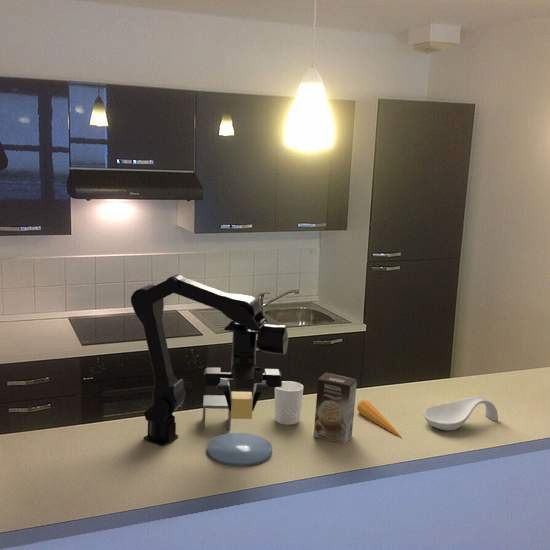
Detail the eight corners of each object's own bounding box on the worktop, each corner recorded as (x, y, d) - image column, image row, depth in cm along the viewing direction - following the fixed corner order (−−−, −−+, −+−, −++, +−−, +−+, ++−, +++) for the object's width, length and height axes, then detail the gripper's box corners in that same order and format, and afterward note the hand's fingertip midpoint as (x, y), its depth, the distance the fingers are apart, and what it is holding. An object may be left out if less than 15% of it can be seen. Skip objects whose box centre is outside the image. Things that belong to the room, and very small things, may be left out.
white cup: (298, 427, 183) (300, 392, 182) (270, 423, 185) (272, 389, 183) (303, 416, 191) (305, 382, 189) (276, 413, 192) (277, 379, 191)
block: (230, 410, 168) (231, 391, 167) (250, 410, 168) (251, 391, 167) (231, 418, 163) (231, 398, 162) (251, 418, 163) (252, 399, 162)
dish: (194, 454, 165) (194, 449, 164) (230, 432, 178) (231, 427, 178) (249, 472, 157) (249, 467, 157) (283, 448, 170) (284, 443, 170)
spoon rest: (441, 438, 182) (443, 413, 180) (413, 421, 192) (416, 397, 191) (506, 426, 192) (509, 402, 191) (477, 411, 203) (480, 388, 201)
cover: (202, 418, 186) (203, 395, 185) (229, 419, 187) (230, 395, 185) (202, 429, 179) (203, 405, 178) (230, 430, 180) (231, 405, 178)
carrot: (356, 414, 197) (353, 402, 195) (369, 407, 198) (366, 395, 196) (397, 449, 180) (394, 436, 178) (411, 441, 181) (408, 428, 179)
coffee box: (312, 436, 178) (316, 378, 175) (321, 428, 184) (324, 371, 181) (345, 444, 174) (349, 385, 171) (353, 435, 180) (357, 378, 177)
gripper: (204, 358, 154) (201, 423, 157) (285, 360, 156) (282, 424, 158) (205, 344, 165) (203, 405, 168) (281, 346, 166) (278, 406, 169)
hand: (241, 410), depth 165 cm, fingers closed on block, 5 cm apart
